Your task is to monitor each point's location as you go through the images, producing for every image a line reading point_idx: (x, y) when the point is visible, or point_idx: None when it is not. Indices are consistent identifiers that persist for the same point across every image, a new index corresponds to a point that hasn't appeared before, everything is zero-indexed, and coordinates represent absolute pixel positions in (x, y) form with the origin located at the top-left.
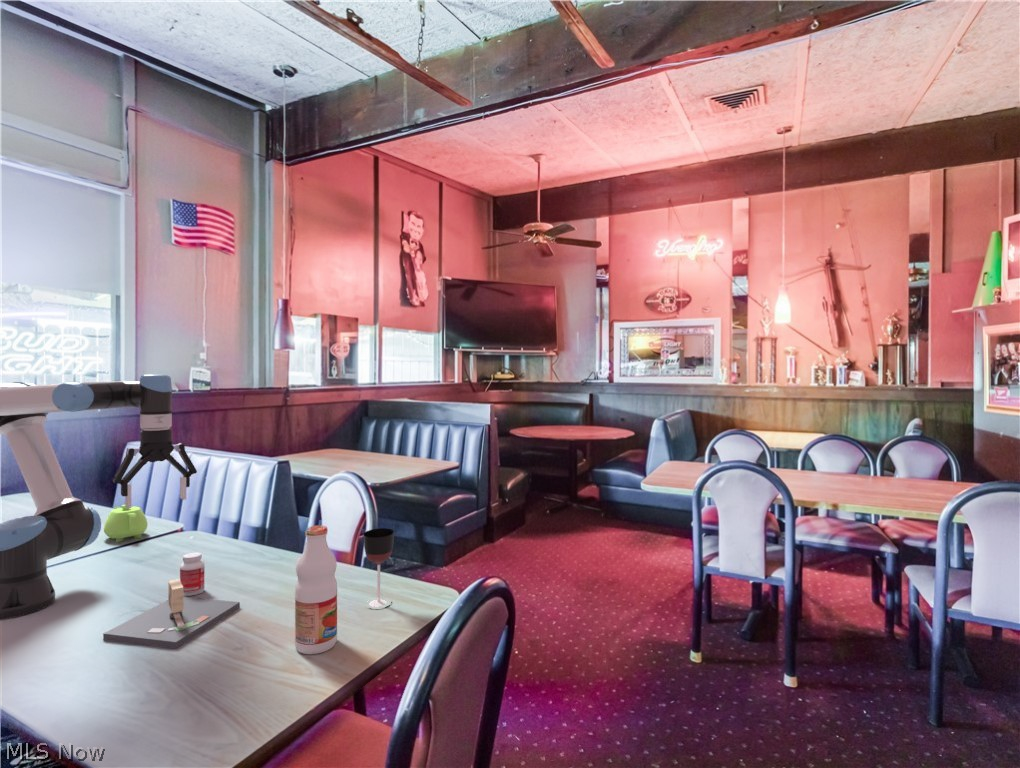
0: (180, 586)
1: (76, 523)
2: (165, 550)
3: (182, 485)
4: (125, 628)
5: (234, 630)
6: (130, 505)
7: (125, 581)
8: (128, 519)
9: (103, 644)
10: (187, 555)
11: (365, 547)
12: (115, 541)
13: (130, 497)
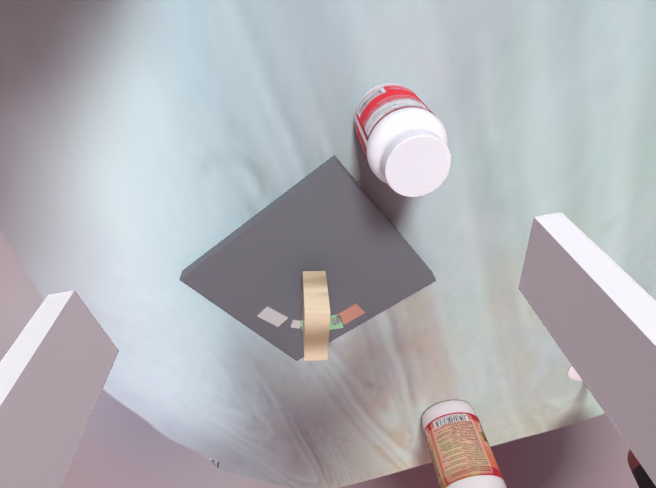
0: (322, 354)
1: None
2: None
3: (612, 391)
4: (219, 280)
5: (385, 342)
6: (103, 372)
7: None
8: None
9: (185, 287)
10: (402, 164)
11: (643, 481)
12: None
13: (71, 444)
